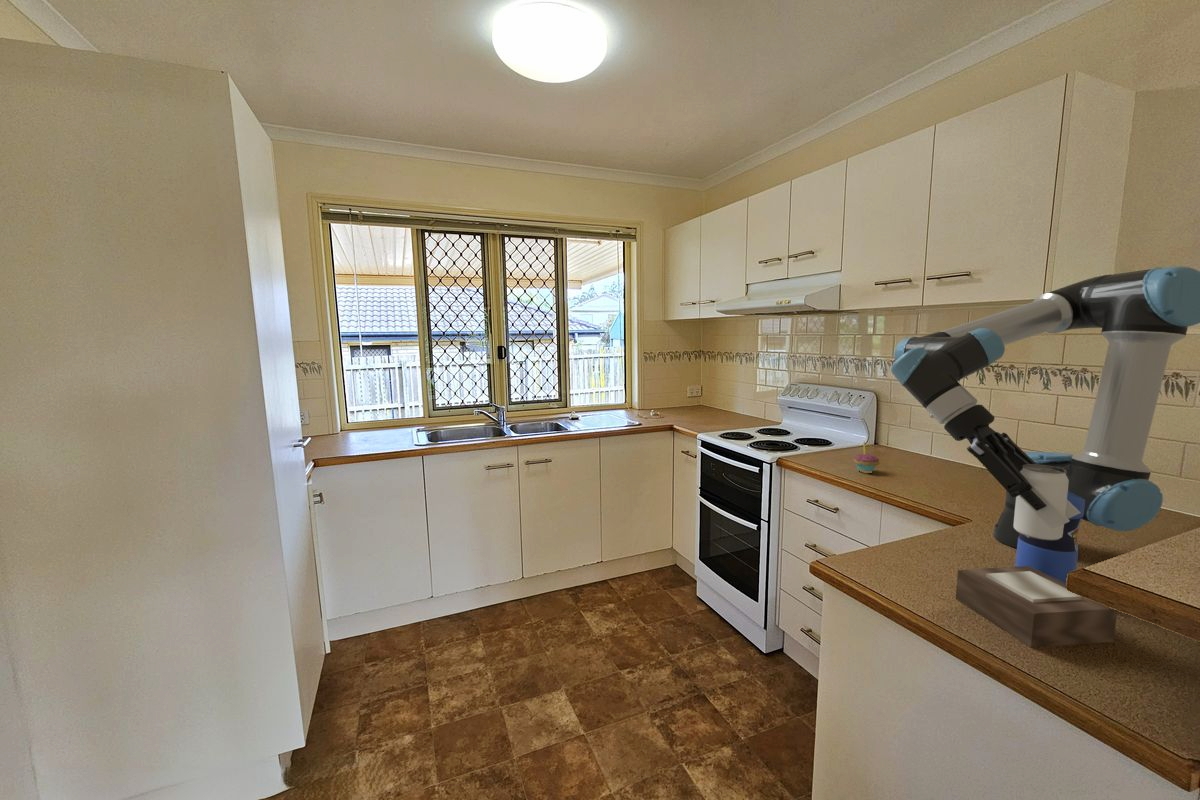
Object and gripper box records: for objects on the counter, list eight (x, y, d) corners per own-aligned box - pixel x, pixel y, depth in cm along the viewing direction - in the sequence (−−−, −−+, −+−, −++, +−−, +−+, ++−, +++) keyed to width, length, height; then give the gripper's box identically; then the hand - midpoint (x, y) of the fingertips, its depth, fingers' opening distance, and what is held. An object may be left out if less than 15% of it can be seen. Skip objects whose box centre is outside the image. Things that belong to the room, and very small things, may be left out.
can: (1012, 523, 88) (1018, 461, 87) (1060, 532, 84) (1067, 467, 83) (1013, 535, 83) (1020, 469, 82) (1064, 544, 79) (1072, 475, 78)
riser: (1026, 594, 94) (1029, 563, 93) (1113, 641, 79) (1118, 604, 78) (955, 598, 92) (958, 566, 92) (1030, 647, 78) (1034, 610, 77)
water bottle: (1012, 584, 97) (1024, 467, 94) (1013, 568, 104) (1024, 458, 101) (1076, 600, 91) (1091, 475, 88) (1073, 582, 98) (1086, 465, 95)
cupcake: (848, 469, 185) (849, 439, 183) (868, 468, 186) (870, 439, 184) (862, 475, 176) (864, 444, 175) (883, 474, 177) (885, 443, 176)
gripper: (962, 421, 99) (1059, 519, 88) (922, 431, 89) (1026, 543, 78) (996, 398, 94) (1104, 499, 83) (957, 406, 84) (1074, 523, 73)
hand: (1066, 520), depth 80 cm, fingers closed on can, 6 cm apart
